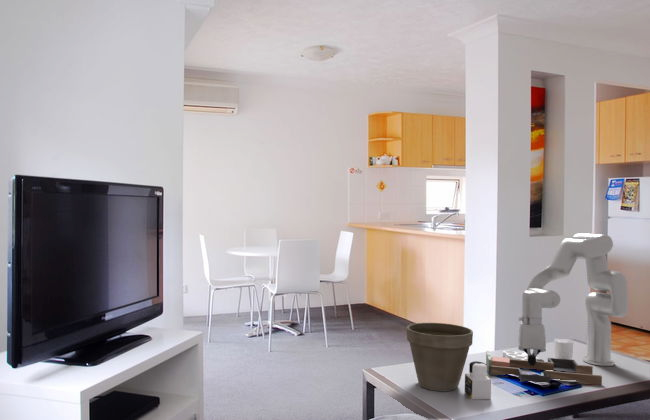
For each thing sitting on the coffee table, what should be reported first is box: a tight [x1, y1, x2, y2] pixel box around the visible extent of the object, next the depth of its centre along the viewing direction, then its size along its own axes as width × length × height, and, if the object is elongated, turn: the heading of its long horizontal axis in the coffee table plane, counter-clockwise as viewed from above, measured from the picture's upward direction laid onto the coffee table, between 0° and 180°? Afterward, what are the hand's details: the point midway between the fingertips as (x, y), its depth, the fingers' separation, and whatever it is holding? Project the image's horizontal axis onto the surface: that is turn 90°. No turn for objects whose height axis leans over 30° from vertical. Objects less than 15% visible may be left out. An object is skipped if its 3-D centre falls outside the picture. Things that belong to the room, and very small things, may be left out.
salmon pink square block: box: [491, 356, 510, 367], centre depth 217 cm, size 7×7×4 cm
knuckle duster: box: [502, 350, 545, 362], centre depth 229 cm, size 3×18×15 cm
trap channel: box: [485, 350, 603, 386], centre depth 211 cm, size 30×42×6 cm
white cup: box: [553, 338, 574, 360], centre depth 229 cm, size 8×8×10 cm
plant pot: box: [406, 322, 474, 392], centre depth 195 cm, size 25×25×22 cm
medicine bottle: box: [464, 360, 492, 401], centre depth 184 cm, size 7×7×12 cm
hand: (531, 364), depth 212 cm, fingers closed
